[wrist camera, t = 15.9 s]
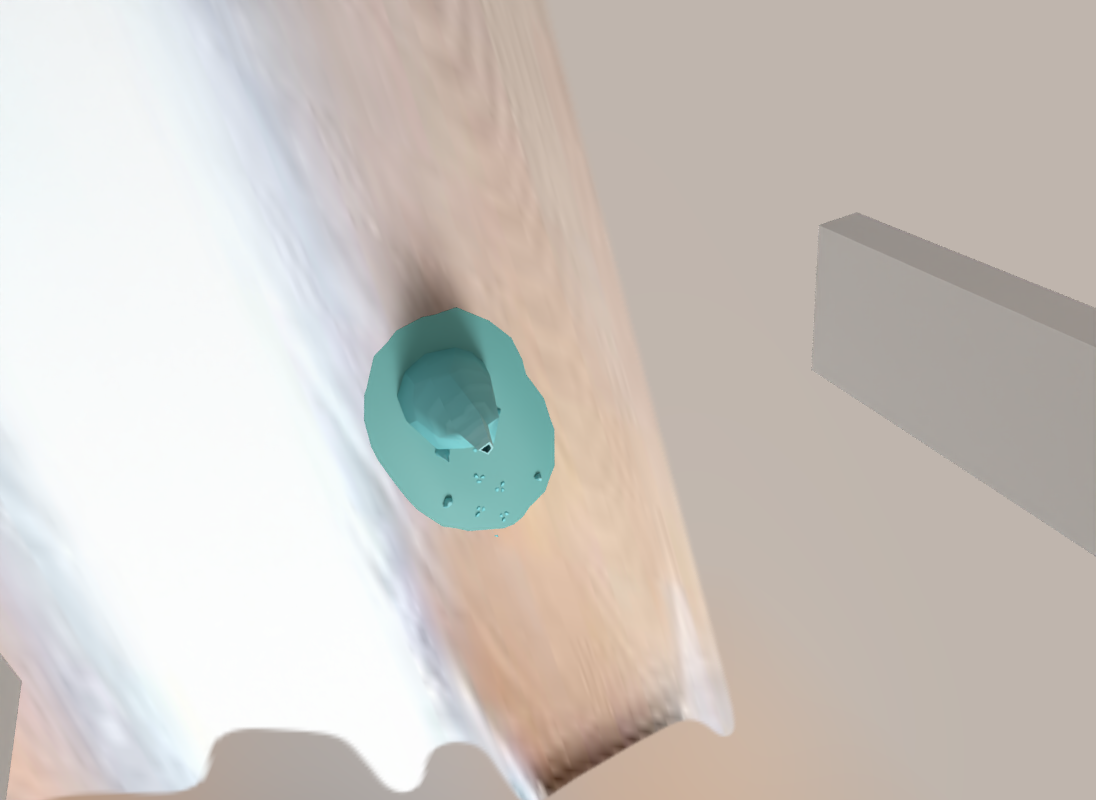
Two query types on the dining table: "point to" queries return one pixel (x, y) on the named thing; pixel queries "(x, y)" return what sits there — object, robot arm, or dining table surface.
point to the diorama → (459, 422)
